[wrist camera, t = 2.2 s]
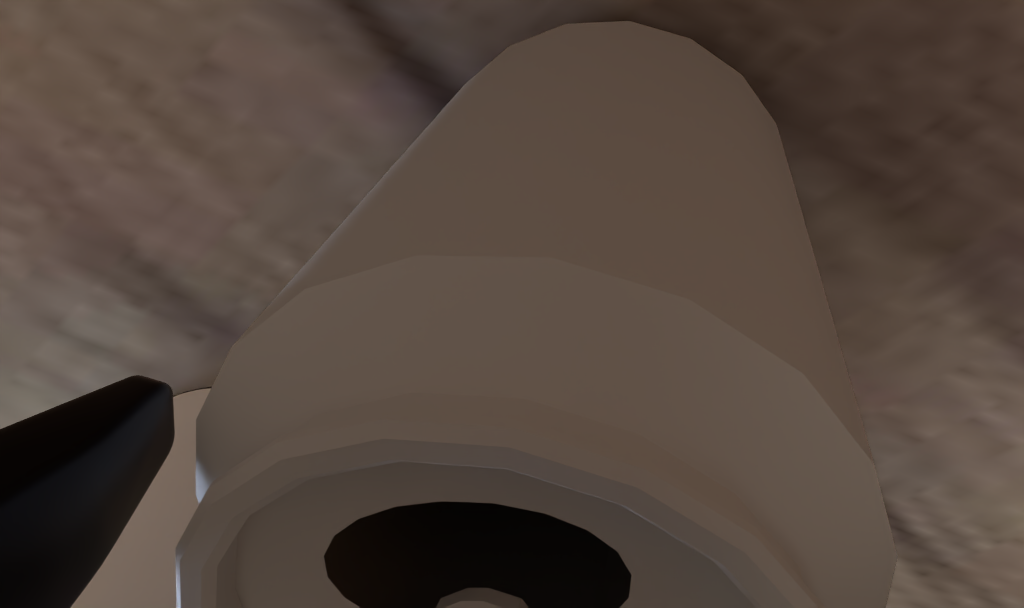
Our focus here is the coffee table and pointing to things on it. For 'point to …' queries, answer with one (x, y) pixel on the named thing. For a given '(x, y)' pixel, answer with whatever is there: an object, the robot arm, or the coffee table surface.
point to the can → (551, 367)
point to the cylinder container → (153, 527)
